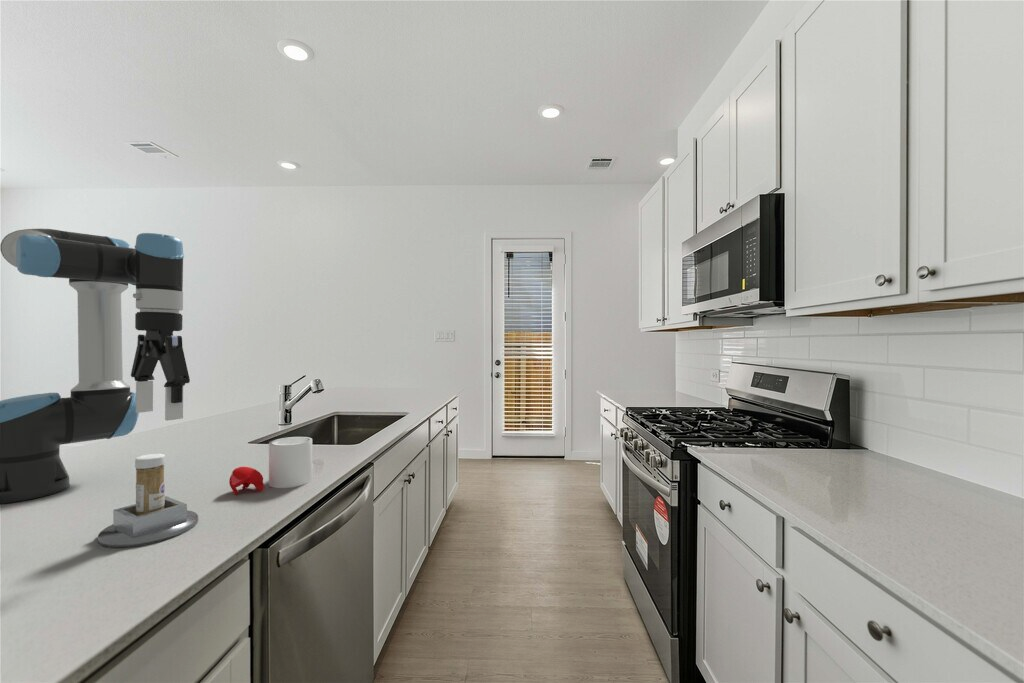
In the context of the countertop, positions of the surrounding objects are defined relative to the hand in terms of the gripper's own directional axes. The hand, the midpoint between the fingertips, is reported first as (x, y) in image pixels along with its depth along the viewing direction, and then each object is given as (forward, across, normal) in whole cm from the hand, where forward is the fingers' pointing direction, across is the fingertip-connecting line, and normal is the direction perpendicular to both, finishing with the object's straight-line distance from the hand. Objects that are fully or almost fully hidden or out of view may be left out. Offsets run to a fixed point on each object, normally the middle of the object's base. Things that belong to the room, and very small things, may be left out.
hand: (158, 415), depth 90 cm
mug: (+22, -1, +30) cm, 37 cm away
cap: (+22, -3, +19) cm, 29 cm away
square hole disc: (+22, +4, -3) cm, 22 cm away
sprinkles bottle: (+21, +4, -3) cm, 21 cm away
